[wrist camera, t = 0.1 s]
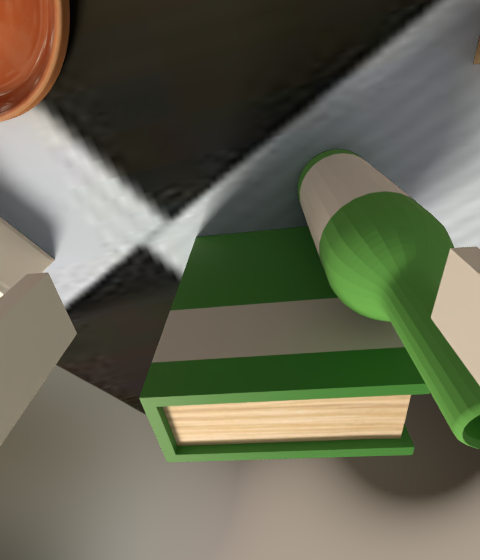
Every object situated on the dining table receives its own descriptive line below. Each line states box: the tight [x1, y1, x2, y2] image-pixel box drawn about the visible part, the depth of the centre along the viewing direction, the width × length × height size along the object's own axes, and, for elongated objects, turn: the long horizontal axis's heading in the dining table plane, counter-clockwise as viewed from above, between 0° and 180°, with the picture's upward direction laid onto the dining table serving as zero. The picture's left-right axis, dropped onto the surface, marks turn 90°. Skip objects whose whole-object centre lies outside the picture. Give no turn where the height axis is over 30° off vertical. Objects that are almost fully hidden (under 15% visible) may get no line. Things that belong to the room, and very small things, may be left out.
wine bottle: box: [298, 149, 480, 449], centre depth 24 cm, size 8×8×30 cm
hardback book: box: [139, 226, 430, 462], centre depth 32 cm, size 18×7×24 cm, turn 97°
